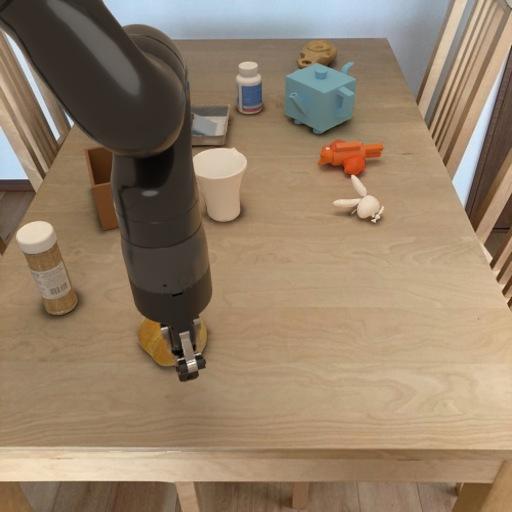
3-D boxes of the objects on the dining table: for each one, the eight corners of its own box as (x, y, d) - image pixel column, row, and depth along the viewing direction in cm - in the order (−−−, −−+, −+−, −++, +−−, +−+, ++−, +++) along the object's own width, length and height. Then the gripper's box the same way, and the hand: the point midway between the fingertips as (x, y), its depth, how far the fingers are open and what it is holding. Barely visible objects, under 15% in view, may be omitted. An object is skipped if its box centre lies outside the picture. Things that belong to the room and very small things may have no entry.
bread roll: (171, 380, 68) (166, 360, 65) (130, 339, 73) (124, 319, 70) (222, 343, 72) (220, 323, 69) (180, 307, 77) (177, 286, 74)
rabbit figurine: (370, 231, 89) (331, 200, 89) (365, 234, 93) (328, 204, 93) (393, 202, 89) (354, 171, 89) (387, 206, 93) (349, 177, 93)
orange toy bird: (380, 129, 101) (316, 136, 100) (391, 161, 98) (325, 168, 96) (374, 148, 106) (313, 154, 104) (385, 179, 102) (321, 186, 101)
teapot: (263, 122, 116) (263, 69, 108) (323, 95, 125) (326, 45, 117) (318, 151, 107) (322, 96, 99) (378, 120, 116) (385, 67, 108)
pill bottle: (267, 108, 120) (267, 64, 114) (250, 117, 118) (249, 73, 111) (249, 100, 123) (248, 57, 117) (232, 109, 120) (229, 65, 114)
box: (175, 215, 93) (168, 172, 87) (103, 230, 90) (91, 187, 84) (161, 177, 101) (154, 136, 96) (94, 190, 99) (84, 148, 93)
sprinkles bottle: (76, 289, 80) (51, 216, 71) (80, 311, 77) (54, 237, 68) (43, 298, 79) (14, 224, 70) (46, 320, 76) (15, 246, 67)
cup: (260, 205, 94) (259, 154, 88) (227, 235, 89) (223, 183, 82) (218, 189, 98) (214, 139, 91) (184, 216, 92) (178, 165, 86)
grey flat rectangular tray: (227, 148, 108) (226, 135, 107) (101, 148, 109) (98, 135, 107) (231, 115, 118) (230, 103, 116) (116, 116, 119) (113, 103, 117)
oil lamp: (297, 81, 130) (298, 60, 127) (291, 57, 141) (292, 37, 138) (342, 79, 131) (344, 58, 127) (333, 55, 141) (334, 35, 138)
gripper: (116, 227, 54) (144, 340, 66) (138, 323, 45) (167, 436, 56) (190, 210, 56) (205, 324, 67) (227, 300, 46) (237, 414, 58)
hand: (188, 375), depth 62 cm, fingers closed
